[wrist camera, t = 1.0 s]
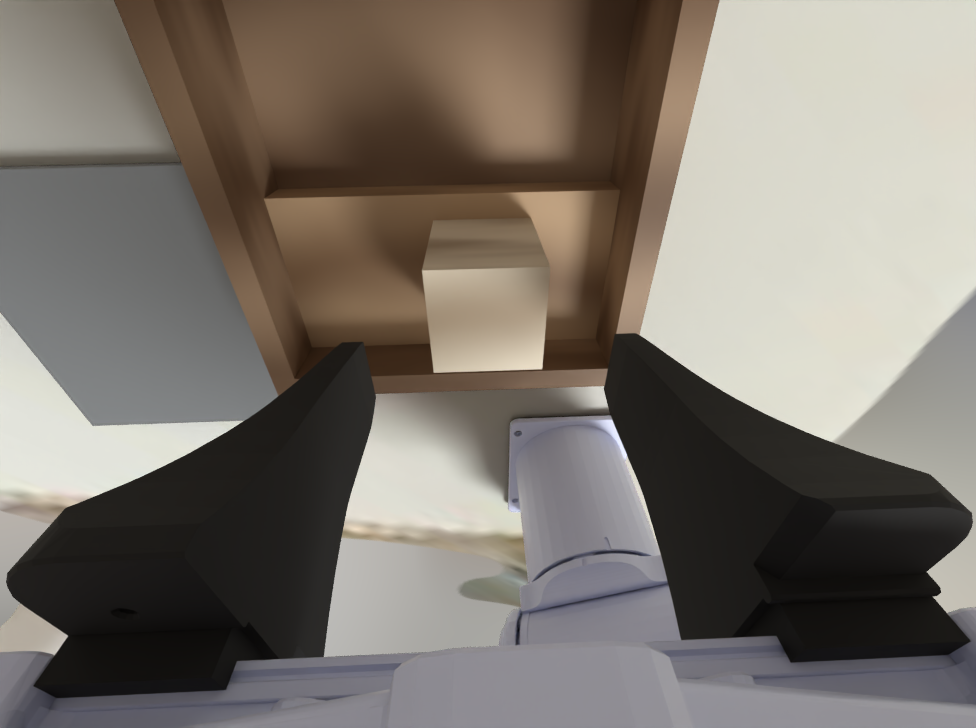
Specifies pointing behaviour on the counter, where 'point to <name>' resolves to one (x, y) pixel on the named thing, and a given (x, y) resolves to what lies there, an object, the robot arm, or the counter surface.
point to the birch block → (486, 295)
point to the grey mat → (126, 294)
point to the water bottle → (29, 633)
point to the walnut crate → (426, 160)
